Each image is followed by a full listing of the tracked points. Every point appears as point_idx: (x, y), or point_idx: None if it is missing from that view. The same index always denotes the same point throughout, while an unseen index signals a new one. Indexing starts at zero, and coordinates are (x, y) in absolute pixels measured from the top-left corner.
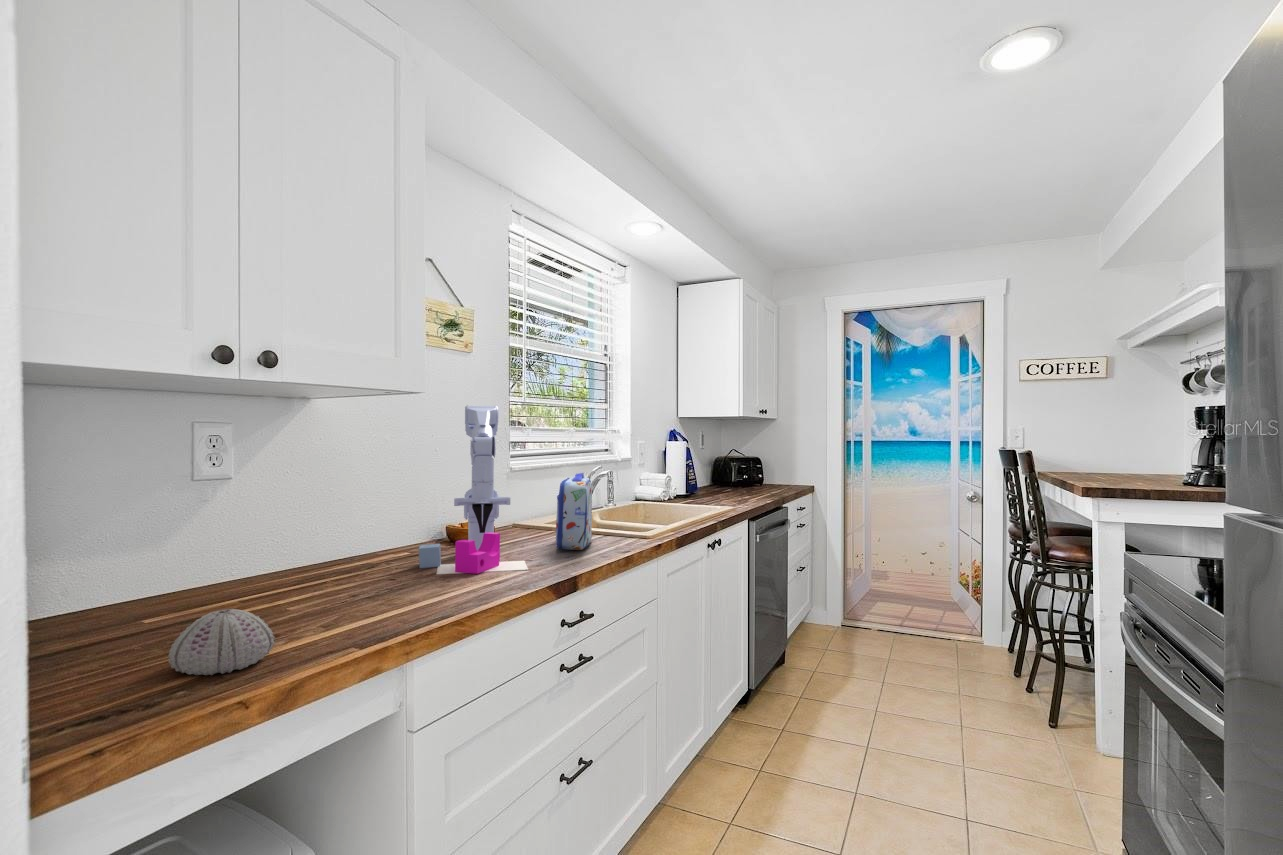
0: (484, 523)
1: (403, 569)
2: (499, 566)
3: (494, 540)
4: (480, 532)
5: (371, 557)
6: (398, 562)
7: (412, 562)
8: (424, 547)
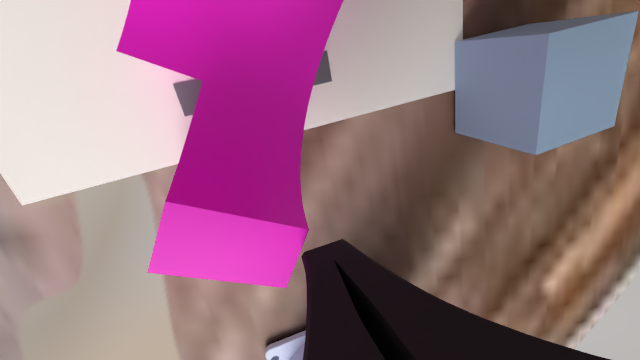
0: (331, 299)
1: (581, 4)
2: None
3: (185, 164)
4: (339, 241)
5: (636, 213)
6: (583, 144)
7: None
8: (611, 44)
